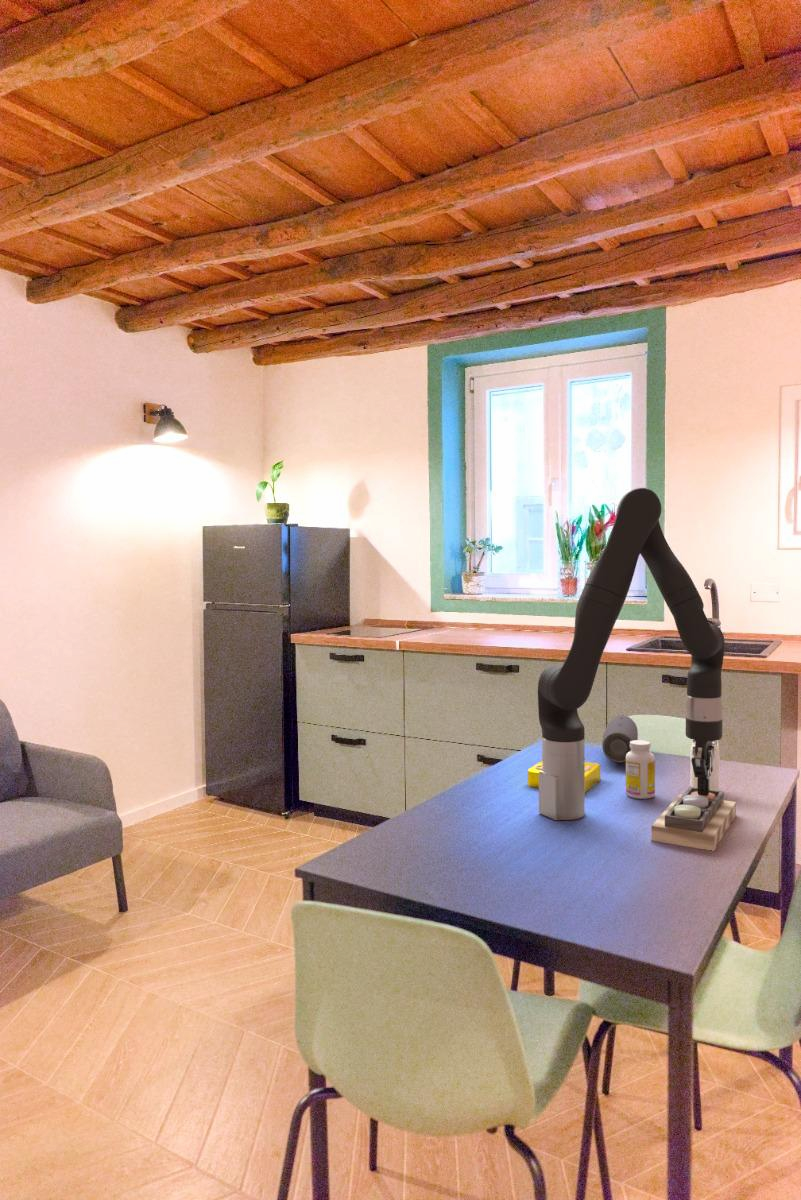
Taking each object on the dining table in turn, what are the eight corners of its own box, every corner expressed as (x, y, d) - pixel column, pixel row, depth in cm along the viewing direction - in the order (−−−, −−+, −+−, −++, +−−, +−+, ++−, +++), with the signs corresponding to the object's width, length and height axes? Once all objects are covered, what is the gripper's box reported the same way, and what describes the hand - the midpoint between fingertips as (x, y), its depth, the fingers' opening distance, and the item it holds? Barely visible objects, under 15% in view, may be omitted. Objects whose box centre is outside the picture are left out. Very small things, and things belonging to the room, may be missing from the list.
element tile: (583, 796, 197) (583, 776, 197) (524, 787, 205) (524, 768, 204) (602, 780, 210) (602, 761, 209) (547, 772, 217) (547, 754, 217)
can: (721, 795, 195) (721, 745, 194) (692, 793, 196) (692, 744, 195) (716, 787, 201) (716, 738, 200) (688, 785, 202) (688, 737, 201)
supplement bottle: (651, 791, 198) (651, 739, 197) (657, 800, 192) (657, 745, 191) (623, 791, 199) (623, 738, 198) (628, 799, 192) (628, 745, 191)
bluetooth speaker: (605, 746, 243) (605, 712, 242) (638, 748, 240) (638, 714, 239) (600, 766, 221) (600, 729, 221) (636, 768, 218) (636, 731, 218)
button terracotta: (712, 807, 176) (712, 799, 176) (688, 804, 178) (688, 796, 178) (717, 801, 180) (717, 793, 180) (693, 798, 183) (693, 790, 182)
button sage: (697, 822, 163) (697, 814, 163) (671, 818, 166) (671, 810, 165) (702, 815, 167) (702, 806, 167) (677, 811, 170) (677, 803, 170)
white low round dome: (705, 812, 169) (705, 803, 169) (680, 808, 172) (680, 799, 172) (710, 805, 174) (710, 796, 173) (686, 801, 176) (686, 793, 176)
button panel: (713, 851, 160) (714, 824, 159) (651, 840, 166) (651, 815, 166) (735, 815, 180) (736, 792, 180) (679, 806, 186) (679, 784, 186)
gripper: (716, 724, 170) (715, 805, 172) (727, 712, 182) (727, 788, 183) (678, 720, 174) (678, 800, 176) (692, 709, 186) (692, 784, 187)
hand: (703, 794), depth 179 cm, fingers closed
